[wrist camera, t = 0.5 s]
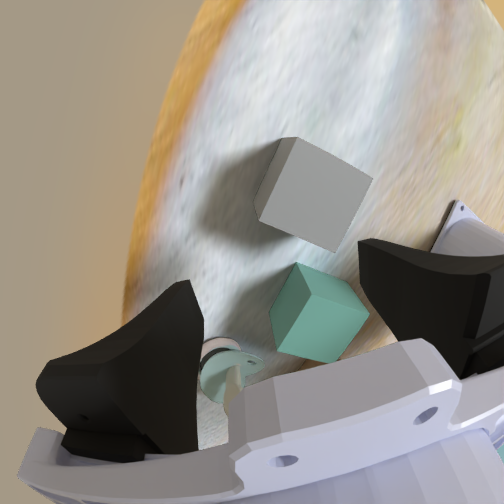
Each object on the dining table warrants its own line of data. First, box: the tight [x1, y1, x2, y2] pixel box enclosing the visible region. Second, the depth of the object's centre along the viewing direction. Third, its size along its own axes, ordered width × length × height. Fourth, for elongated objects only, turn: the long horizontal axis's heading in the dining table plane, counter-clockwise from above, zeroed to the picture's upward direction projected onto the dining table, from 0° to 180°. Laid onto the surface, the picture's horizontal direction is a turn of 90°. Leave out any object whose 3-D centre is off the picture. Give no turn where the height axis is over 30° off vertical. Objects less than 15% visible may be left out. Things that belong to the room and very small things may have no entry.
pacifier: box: [198, 337, 265, 417], centre depth 23 cm, size 7×6×6 cm
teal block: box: [269, 262, 370, 363], centre depth 21 cm, size 5×5×5 cm
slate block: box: [253, 137, 373, 253], centre depth 17 cm, size 5×5×5 cm
